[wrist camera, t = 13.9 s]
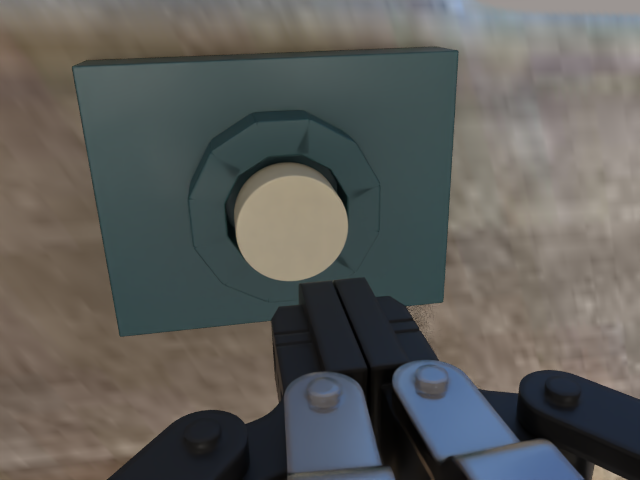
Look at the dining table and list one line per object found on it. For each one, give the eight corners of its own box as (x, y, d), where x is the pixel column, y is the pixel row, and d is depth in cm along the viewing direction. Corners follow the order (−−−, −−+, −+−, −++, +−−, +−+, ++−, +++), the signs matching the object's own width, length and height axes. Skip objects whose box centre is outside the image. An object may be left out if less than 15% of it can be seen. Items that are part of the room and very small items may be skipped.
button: (238, 265, 21) (240, 287, 19) (229, 165, 19) (231, 179, 18) (338, 256, 21) (349, 276, 19) (337, 158, 20) (348, 171, 18)
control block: (127, 310, 24) (112, 363, 21) (85, 60, 21) (57, 71, 17) (426, 280, 26) (460, 324, 23) (437, 46, 23) (480, 54, 19)
